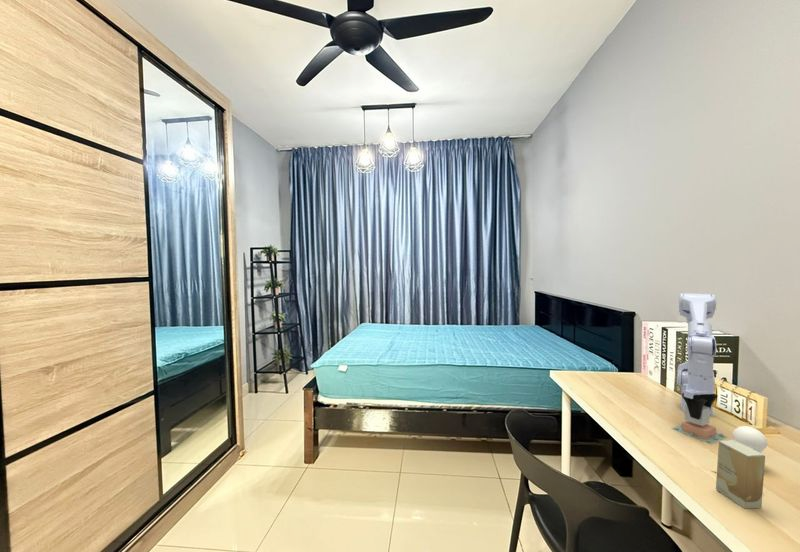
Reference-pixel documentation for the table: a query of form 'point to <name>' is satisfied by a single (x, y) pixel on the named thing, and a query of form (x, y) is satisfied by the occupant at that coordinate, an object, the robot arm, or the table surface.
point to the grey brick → (703, 419)
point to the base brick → (699, 429)
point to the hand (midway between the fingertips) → (699, 416)
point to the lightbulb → (750, 438)
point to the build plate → (709, 440)
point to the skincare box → (740, 473)
